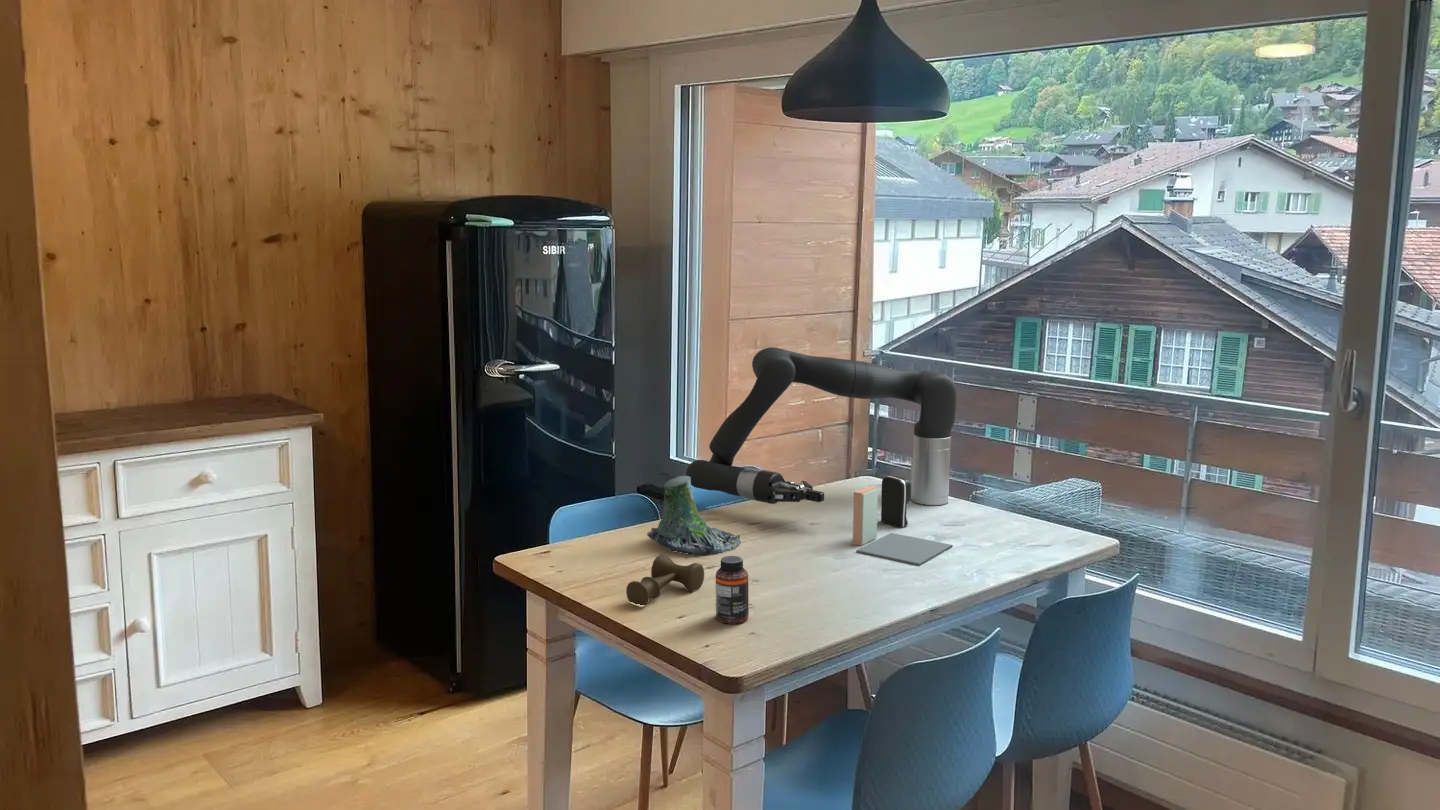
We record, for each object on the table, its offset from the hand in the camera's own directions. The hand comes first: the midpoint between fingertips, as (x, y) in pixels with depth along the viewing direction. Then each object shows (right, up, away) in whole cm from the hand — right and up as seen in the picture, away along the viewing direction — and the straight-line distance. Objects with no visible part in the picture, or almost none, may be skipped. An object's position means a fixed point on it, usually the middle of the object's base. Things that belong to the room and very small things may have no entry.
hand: (822, 497), depth 241 cm
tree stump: (-29, -10, -7) cm, 32 cm away
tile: (+9, -9, -5) cm, 14 cm away
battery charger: (+18, -7, +9) cm, 21 cm away
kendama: (-34, -15, -37) cm, 52 cm away
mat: (+17, -10, -11) cm, 23 cm away
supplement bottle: (-21, -18, -51) cm, 58 cm away
